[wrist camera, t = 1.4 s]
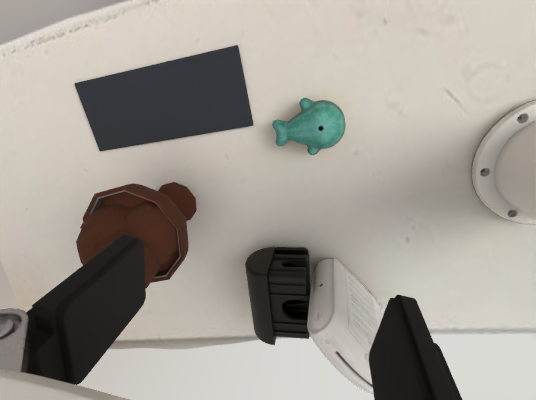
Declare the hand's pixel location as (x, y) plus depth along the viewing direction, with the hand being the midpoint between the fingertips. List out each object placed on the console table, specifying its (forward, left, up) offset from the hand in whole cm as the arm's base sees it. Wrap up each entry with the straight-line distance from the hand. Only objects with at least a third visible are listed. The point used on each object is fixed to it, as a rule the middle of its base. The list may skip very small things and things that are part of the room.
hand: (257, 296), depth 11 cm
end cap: (+5, +16, -24) cm, 30 cm away
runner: (+15, -8, -24) cm, 29 cm away
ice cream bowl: (+17, +4, -24) cm, 30 cm away
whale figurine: (-1, -3, -24) cm, 25 cm away
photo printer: (-3, +18, -24) cm, 31 cm away
